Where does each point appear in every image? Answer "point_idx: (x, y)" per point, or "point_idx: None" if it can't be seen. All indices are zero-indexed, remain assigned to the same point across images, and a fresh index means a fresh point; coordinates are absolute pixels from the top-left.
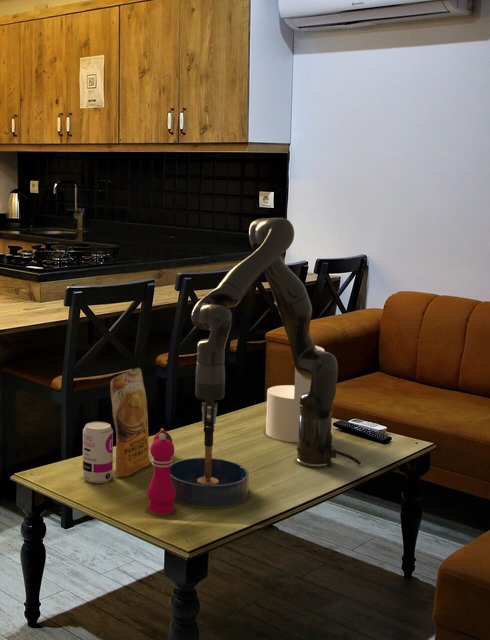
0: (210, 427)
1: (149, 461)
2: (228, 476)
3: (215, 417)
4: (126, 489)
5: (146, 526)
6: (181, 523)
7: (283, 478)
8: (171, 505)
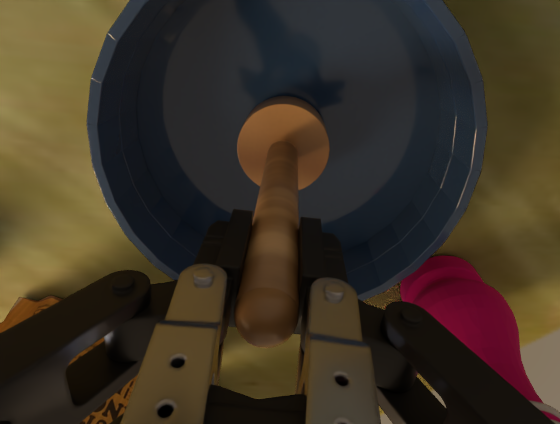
0: (409, 362)
1: (47, 305)
2: (150, 35)
3: (377, 414)
4: (266, 353)
5: (538, 322)
6: (544, 239)
7: None
8: (466, 275)
